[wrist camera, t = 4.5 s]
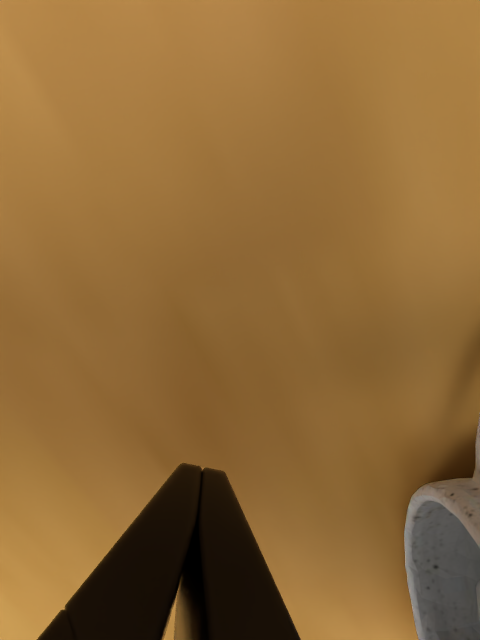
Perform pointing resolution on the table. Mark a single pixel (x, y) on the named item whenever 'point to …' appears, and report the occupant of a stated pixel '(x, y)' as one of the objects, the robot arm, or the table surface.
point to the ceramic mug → (445, 557)
